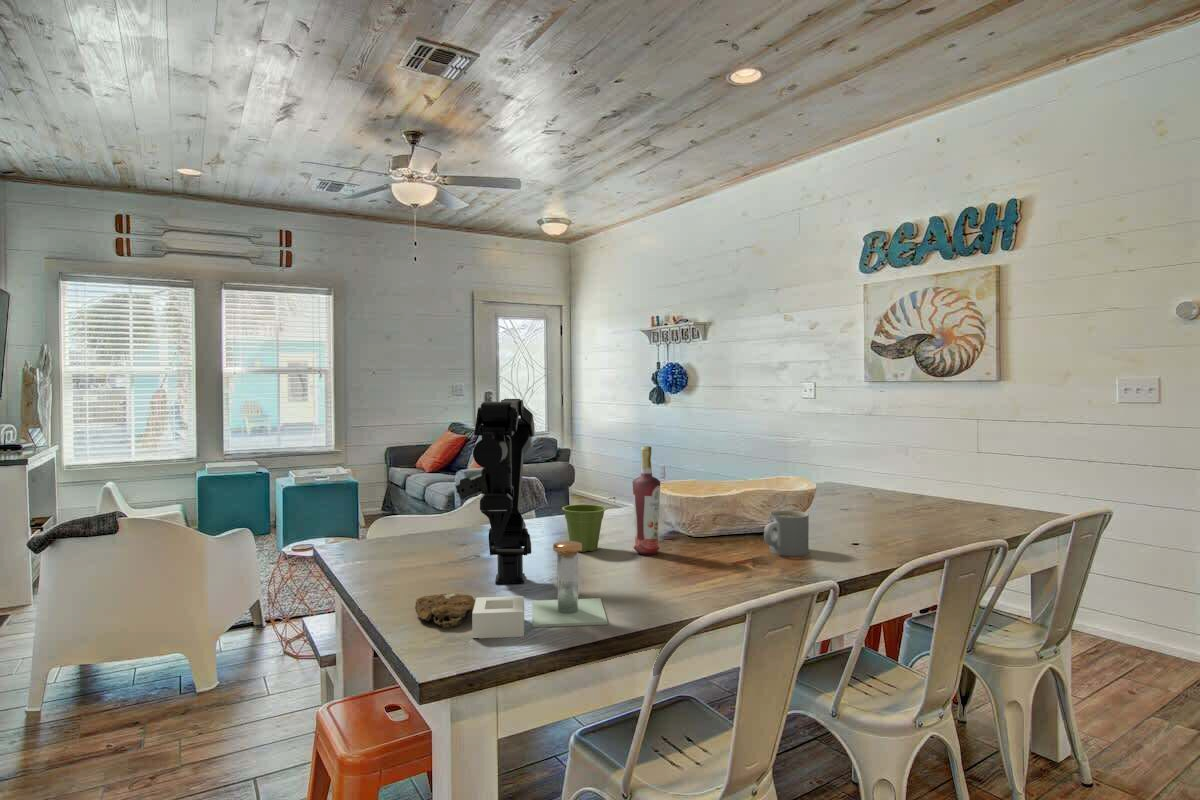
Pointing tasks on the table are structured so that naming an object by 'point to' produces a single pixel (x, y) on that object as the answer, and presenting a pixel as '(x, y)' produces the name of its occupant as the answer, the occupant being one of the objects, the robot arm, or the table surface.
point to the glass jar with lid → (567, 575)
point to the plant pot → (584, 524)
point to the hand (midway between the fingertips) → (498, 537)
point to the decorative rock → (444, 608)
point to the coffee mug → (787, 533)
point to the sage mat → (586, 615)
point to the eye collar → (498, 617)
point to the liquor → (646, 507)
